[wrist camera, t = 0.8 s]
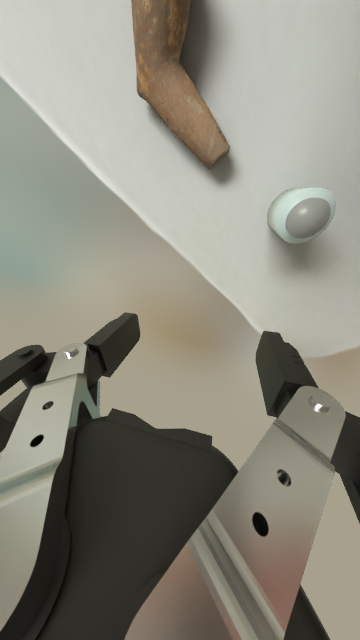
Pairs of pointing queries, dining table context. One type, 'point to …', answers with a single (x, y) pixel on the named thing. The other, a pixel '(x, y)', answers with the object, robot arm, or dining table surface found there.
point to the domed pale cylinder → (301, 213)
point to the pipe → (173, 77)
